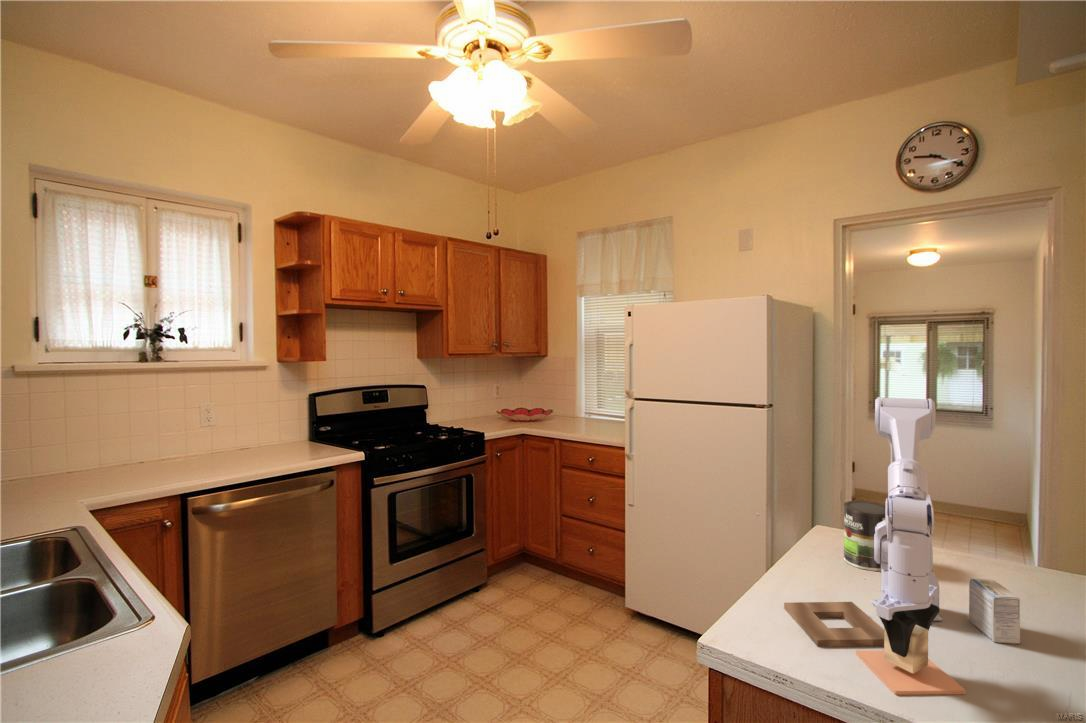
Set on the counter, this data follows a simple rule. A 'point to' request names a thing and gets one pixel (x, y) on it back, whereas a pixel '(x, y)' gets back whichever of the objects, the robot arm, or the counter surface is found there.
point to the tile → (910, 677)
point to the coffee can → (861, 533)
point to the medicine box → (994, 610)
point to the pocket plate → (821, 635)
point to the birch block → (910, 651)
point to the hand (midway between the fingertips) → (907, 649)
